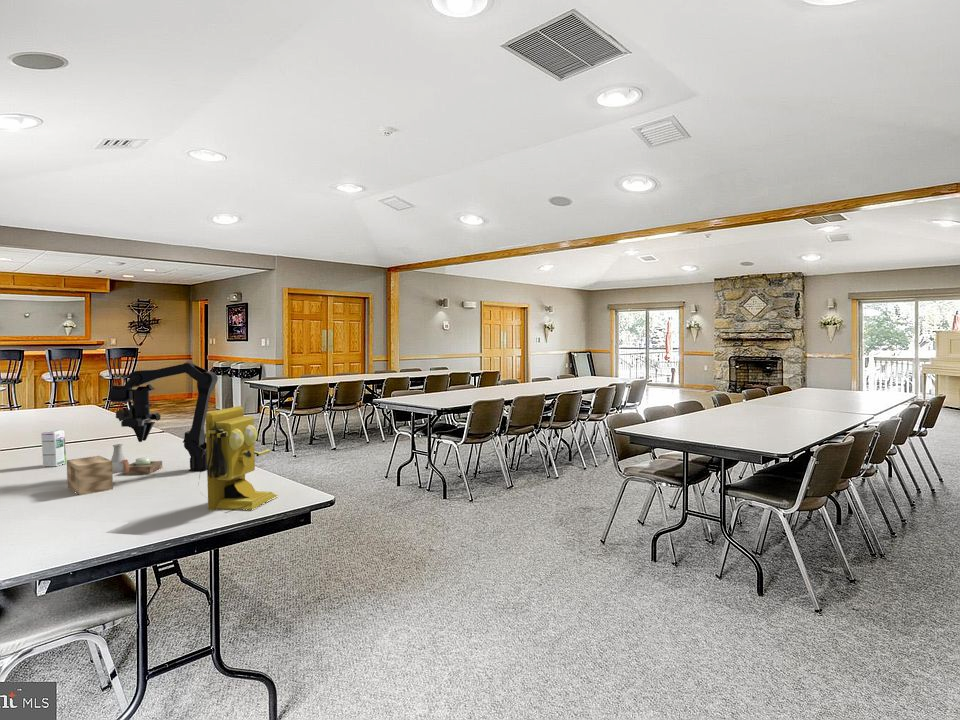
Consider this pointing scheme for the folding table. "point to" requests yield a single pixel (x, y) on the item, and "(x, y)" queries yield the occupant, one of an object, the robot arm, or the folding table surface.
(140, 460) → the table button
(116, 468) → the plunger
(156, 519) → the folding table surface
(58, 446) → the syrup box
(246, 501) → the vintage telephone
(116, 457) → the flask
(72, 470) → the wooden box
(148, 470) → the button housing
